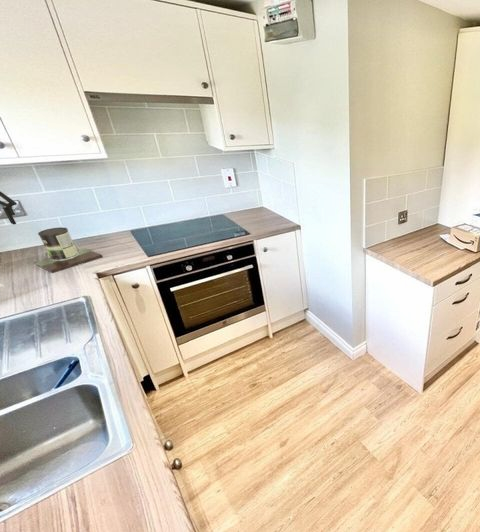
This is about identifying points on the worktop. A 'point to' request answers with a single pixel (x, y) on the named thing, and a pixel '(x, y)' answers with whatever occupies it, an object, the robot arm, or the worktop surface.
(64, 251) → the coffee can
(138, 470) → the worktop surface
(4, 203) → the robot arm
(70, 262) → the serving board
